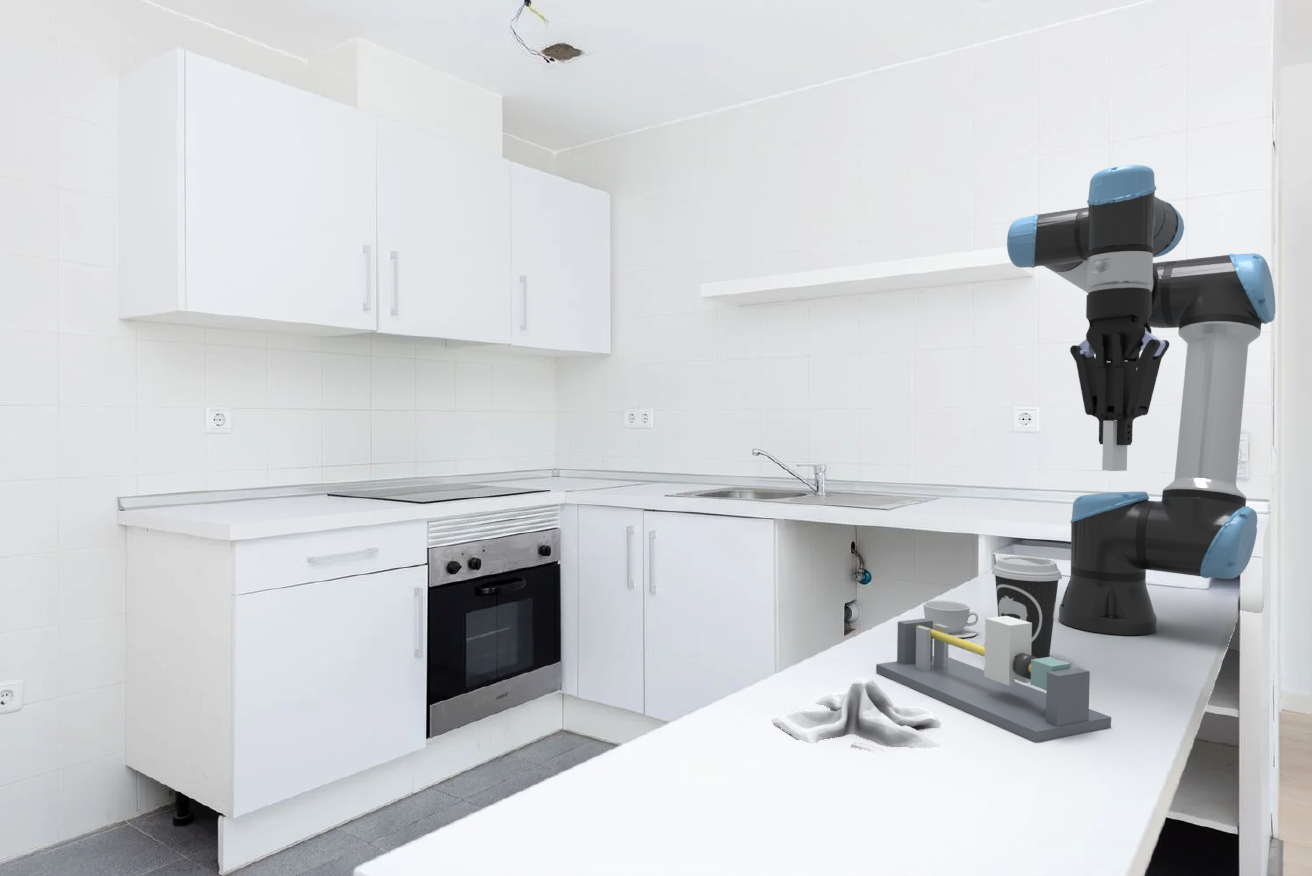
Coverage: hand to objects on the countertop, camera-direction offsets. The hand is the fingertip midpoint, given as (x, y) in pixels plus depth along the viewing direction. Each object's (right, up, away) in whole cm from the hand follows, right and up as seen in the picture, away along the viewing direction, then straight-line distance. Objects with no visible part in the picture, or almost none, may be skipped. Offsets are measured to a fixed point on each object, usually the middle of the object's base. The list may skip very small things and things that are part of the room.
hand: (1114, 470), depth 114 cm
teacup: (-11, -29, +32) cm, 45 cm away
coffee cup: (-5, -29, +15) cm, 33 cm away
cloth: (-35, -30, -12) cm, 48 cm away
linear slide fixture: (-18, -29, -1) cm, 34 cm away
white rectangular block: (-16, -26, -5) cm, 31 cm away
